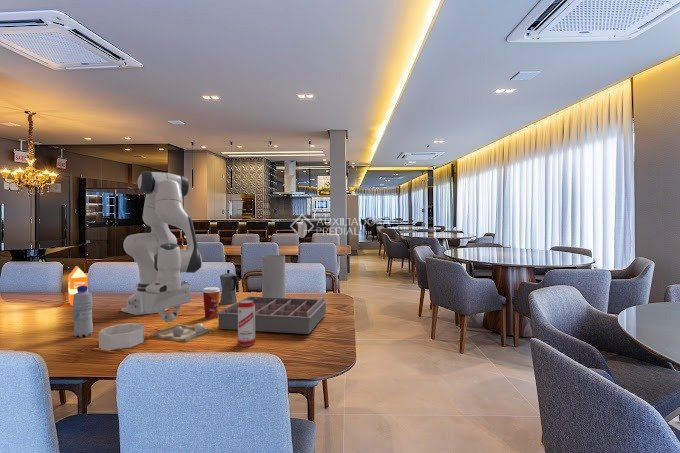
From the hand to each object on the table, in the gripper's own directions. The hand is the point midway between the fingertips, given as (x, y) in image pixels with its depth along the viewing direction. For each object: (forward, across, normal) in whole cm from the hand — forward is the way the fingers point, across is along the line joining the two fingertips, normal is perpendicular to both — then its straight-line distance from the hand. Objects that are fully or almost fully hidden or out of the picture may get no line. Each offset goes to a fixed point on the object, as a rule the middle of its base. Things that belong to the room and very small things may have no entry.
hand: (169, 318), depth 152 cm
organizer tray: (+6, -29, +32) cm, 44 cm away
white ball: (+5, -3, +13) cm, 14 cm away
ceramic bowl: (+6, +16, -6) cm, 18 cm away
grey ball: (+5, +3, +8) cm, 10 cm away
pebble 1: (+2, 0, 0) cm, 2 cm away
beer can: (+5, -2, +37) cm, 37 cm away
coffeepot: (+7, -52, -12) cm, 54 cm away
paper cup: (+6, -24, 0) cm, 25 cm away
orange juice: (+9, -20, -88) cm, 90 cm away
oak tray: (+6, 0, +7) cm, 9 cm away
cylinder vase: (+7, -65, +8) cm, 66 cm away
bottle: (+7, +15, -29) cm, 34 cm away
